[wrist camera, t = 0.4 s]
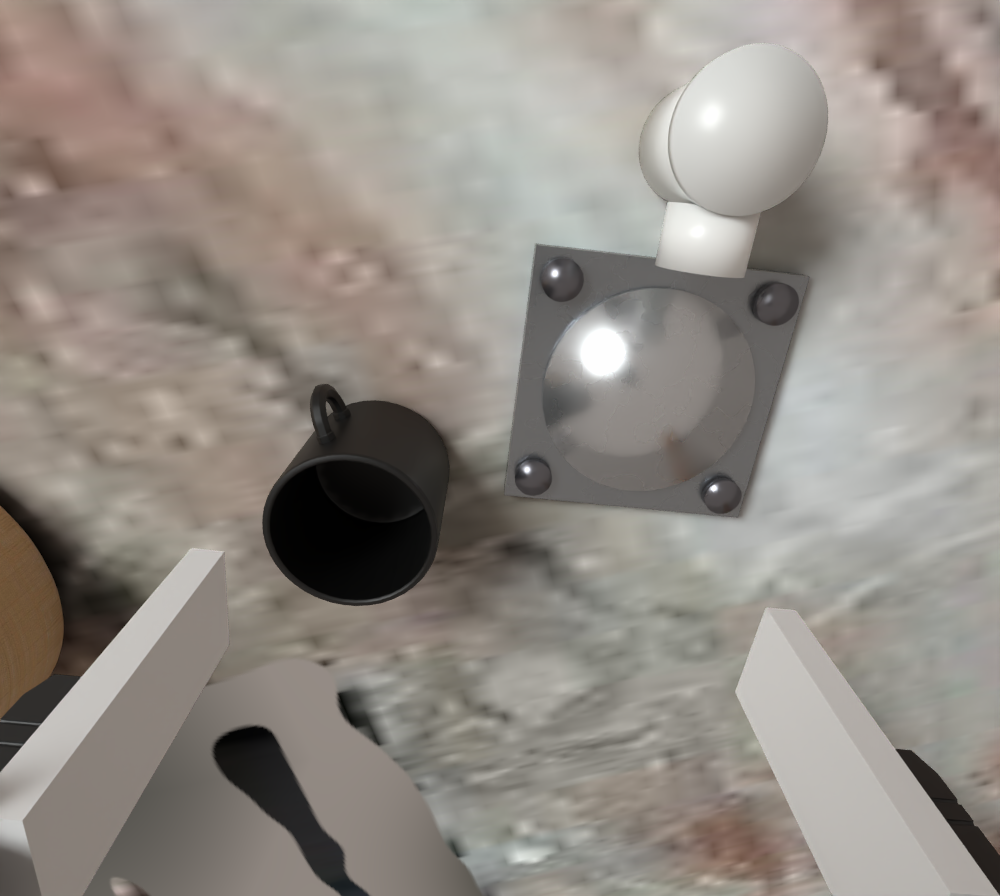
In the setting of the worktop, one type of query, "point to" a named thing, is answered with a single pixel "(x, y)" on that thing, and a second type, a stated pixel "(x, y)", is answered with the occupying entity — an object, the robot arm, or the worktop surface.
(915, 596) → the worktop surface
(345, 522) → the mug
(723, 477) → the duct flange
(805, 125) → the elbow
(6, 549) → the planter
